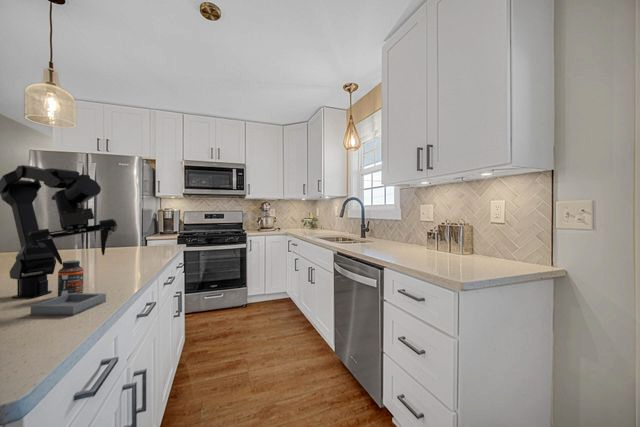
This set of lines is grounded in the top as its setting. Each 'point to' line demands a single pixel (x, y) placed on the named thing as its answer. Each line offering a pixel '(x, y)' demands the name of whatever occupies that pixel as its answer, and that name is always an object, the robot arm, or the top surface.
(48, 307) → the tray
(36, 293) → the robot arm
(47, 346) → the top surface
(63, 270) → the supplement bottle
